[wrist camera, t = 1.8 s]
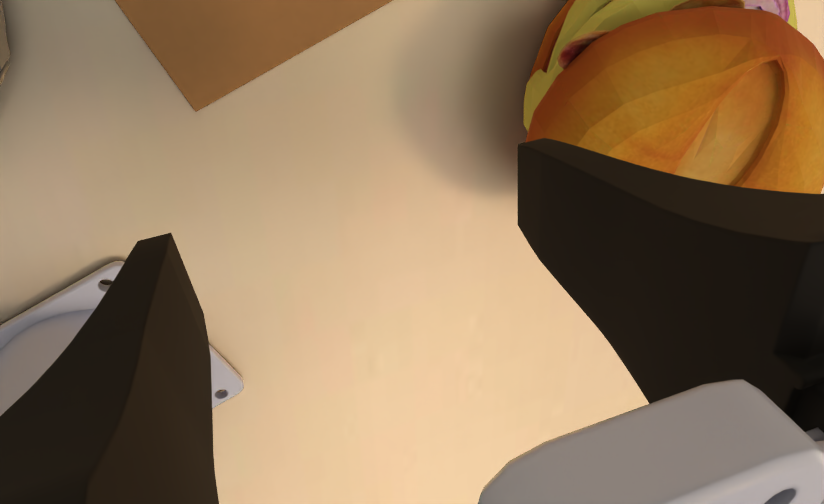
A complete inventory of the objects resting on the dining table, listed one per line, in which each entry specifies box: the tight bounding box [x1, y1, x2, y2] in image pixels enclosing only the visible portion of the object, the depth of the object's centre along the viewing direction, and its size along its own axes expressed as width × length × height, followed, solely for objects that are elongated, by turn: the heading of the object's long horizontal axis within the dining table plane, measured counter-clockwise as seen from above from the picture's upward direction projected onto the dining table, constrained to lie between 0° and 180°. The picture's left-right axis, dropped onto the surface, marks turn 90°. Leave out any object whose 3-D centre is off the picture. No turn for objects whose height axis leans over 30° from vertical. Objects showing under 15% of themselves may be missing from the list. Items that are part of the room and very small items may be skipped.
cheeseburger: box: [523, 0, 824, 194], centre depth 22 cm, size 10×11×10 cm
